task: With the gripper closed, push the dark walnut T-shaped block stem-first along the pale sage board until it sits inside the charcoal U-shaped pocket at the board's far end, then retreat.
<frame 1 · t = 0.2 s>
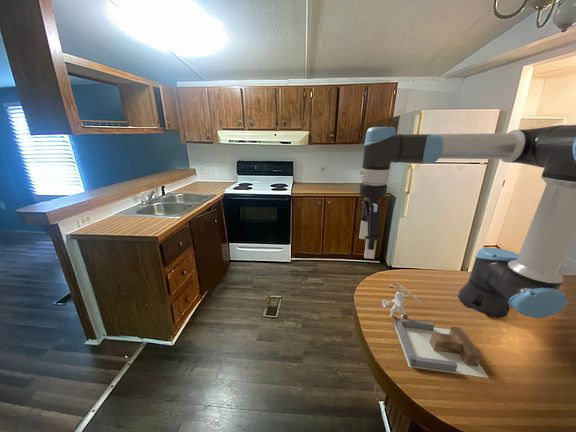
hand: (365, 247, 75), 28 cm above the countertop, fingers open, 13 cm apart
t block: (449, 348, 70), point 1 cm above the countertop, touching board
figurine: (393, 318, 82), on the countertop
silver tweezers: (409, 297, 94), on the countertop
board: (434, 349, 70), on the countertop
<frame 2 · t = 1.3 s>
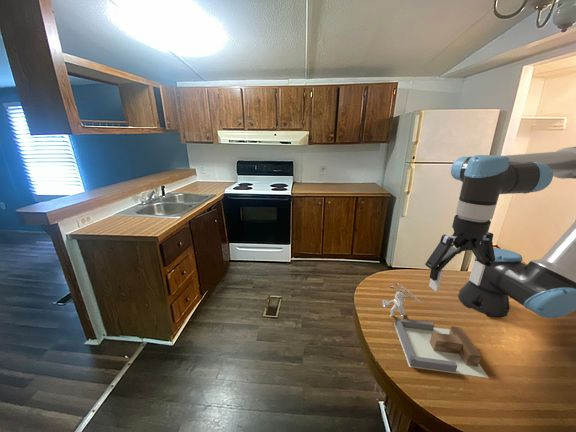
hand: (454, 285, 66), 21 cm above the countertop, fingers open, 13 cm apart
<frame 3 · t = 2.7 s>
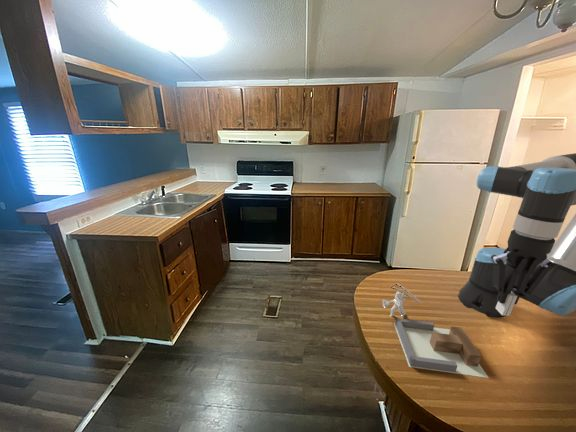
hand: (502, 312, 63), 16 cm above the countertop, fingers closed
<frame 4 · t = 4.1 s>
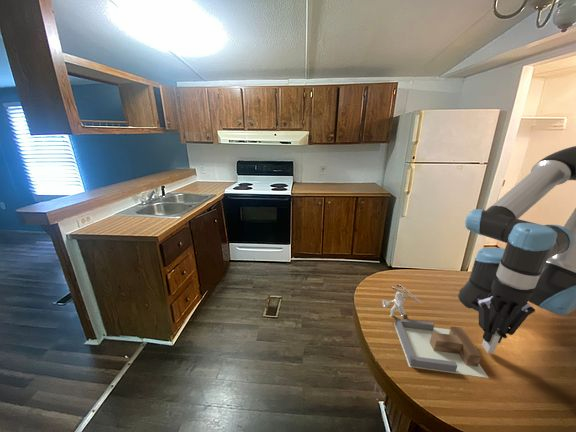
hand: (487, 349, 67), 3 cm above the countertop, fingers closed
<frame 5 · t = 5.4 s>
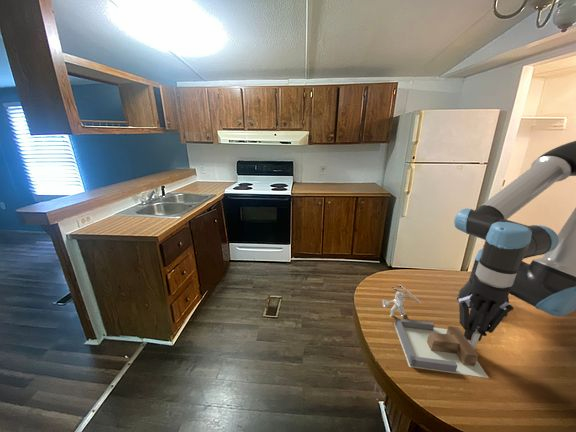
hand: (468, 347, 68), 3 cm above the countertop, fingers closed
t block: (446, 348, 70), point 1 cm above the countertop, touching gripper
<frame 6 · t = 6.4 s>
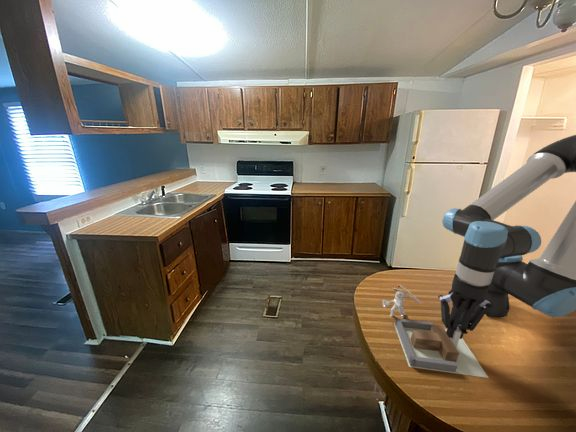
hand: (451, 344, 69), 3 cm above the countertop, fingers closed
t block: (429, 346, 70), point 1 cm above the countertop, touching board, gripper
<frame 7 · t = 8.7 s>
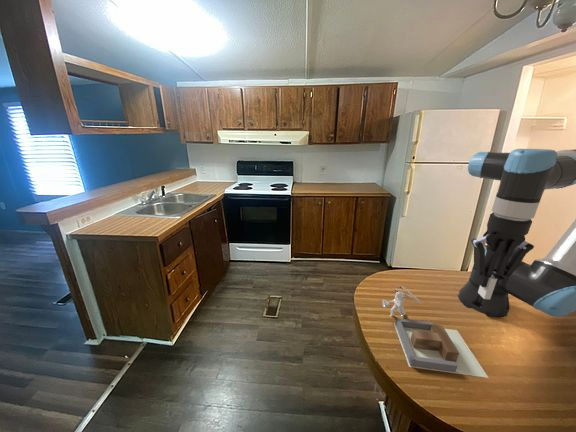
hand: (483, 295, 63), 20 cm above the countertop, fingers closed
t block: (429, 346, 70), point 1 cm above the countertop, touching board
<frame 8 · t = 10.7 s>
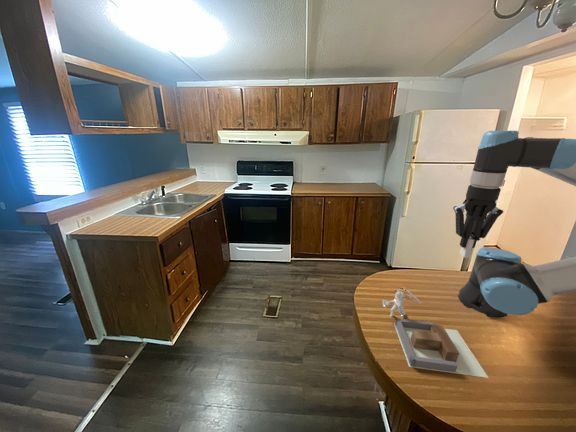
hand: (464, 255, 76), 24 cm above the countertop, fingers closed
at the end: t block 1.9 cm from the target spot, point 1.0 cm above the countertop; t block tilted 0° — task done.
